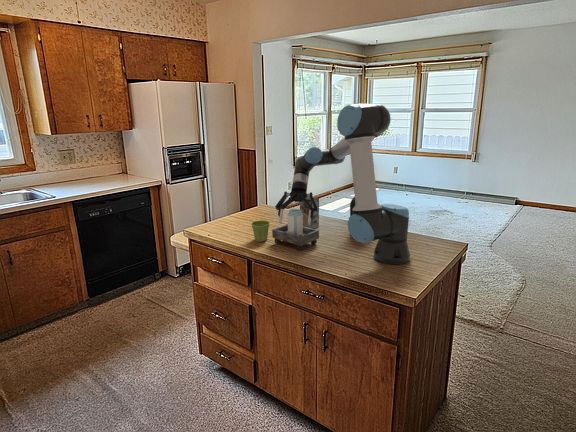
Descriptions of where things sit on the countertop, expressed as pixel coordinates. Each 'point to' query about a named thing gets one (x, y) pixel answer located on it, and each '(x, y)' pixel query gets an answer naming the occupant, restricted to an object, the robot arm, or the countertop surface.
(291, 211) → the can
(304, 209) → the coffee box
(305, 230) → the grey rectangular tray
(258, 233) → the plant pot
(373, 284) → the countertop surface
